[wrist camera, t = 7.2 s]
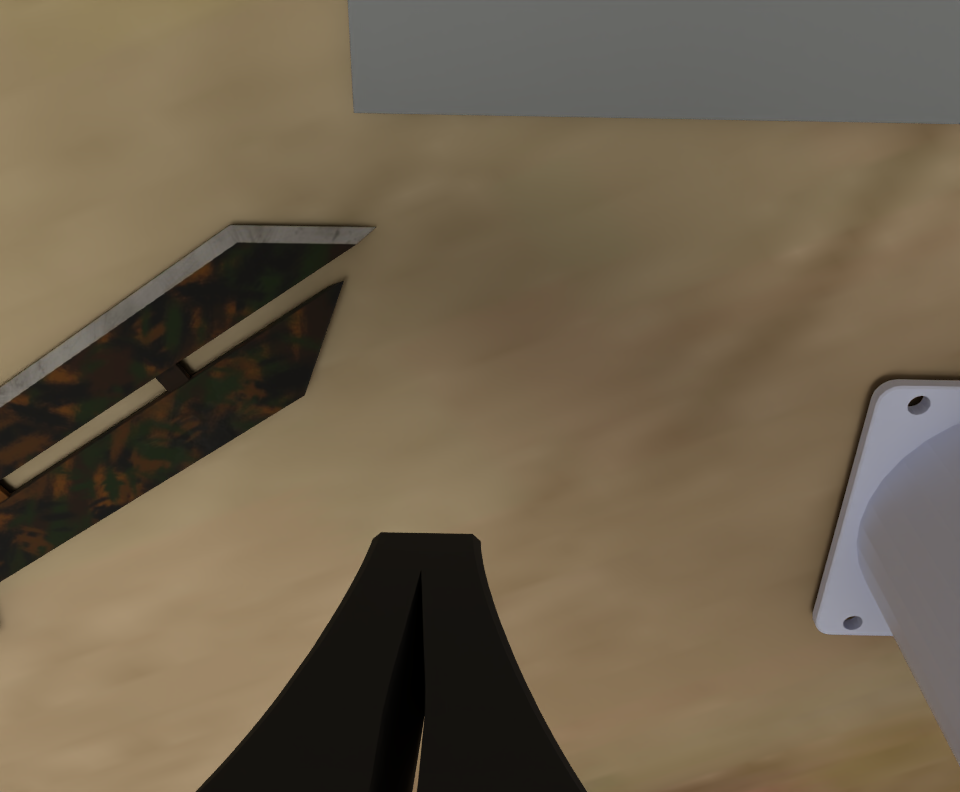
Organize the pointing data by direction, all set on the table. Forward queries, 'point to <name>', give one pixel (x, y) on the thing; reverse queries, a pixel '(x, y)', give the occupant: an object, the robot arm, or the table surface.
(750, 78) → the mat
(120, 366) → the dark ornate flat tool
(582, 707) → the table surface
